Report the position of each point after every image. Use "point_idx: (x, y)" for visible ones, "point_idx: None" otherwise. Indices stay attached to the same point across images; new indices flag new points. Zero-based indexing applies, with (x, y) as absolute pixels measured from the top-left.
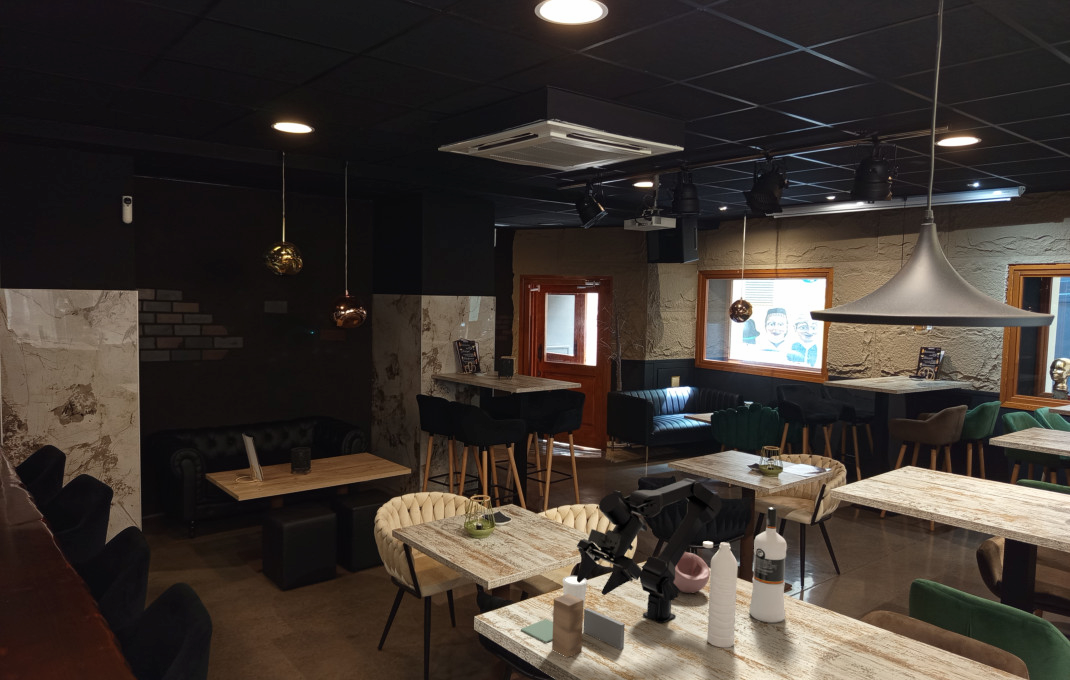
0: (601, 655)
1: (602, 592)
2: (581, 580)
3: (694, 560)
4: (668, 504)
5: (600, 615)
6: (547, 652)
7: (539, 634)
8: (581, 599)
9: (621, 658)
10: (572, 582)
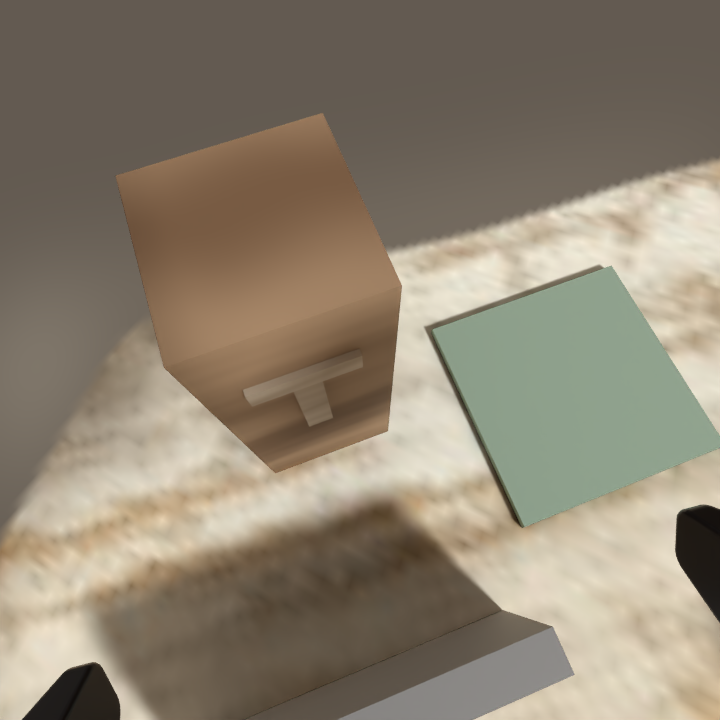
0: (186, 566)
1: (67, 670)
2: (711, 601)
3: None
4: None
5: (378, 715)
6: None
7: (521, 328)
8: (192, 353)
9: None
10: None
